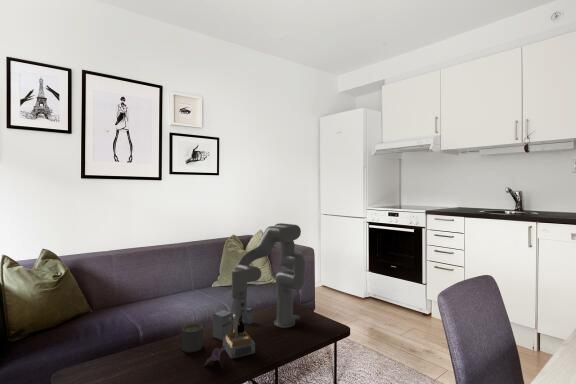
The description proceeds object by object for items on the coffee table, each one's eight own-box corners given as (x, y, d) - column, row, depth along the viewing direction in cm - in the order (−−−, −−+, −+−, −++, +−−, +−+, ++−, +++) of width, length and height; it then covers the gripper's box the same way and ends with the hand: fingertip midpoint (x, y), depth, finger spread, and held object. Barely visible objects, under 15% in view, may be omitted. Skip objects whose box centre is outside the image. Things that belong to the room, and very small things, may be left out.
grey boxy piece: (244, 341, 173) (245, 328, 173) (255, 353, 160) (255, 340, 160) (222, 345, 167) (222, 333, 167) (231, 359, 154) (231, 345, 154)
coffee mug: (203, 350, 163) (204, 330, 162) (182, 353, 159) (183, 333, 159) (199, 338, 175) (200, 319, 175) (180, 341, 171) (180, 322, 171)
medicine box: (238, 322, 197) (238, 307, 197) (242, 319, 201) (242, 305, 201) (249, 325, 193) (249, 310, 193) (253, 322, 197) (253, 308, 197)
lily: (229, 360, 155) (221, 340, 157) (236, 361, 146) (227, 340, 147) (206, 375, 149) (198, 354, 151) (212, 377, 139) (203, 355, 141)
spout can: (241, 331, 167) (242, 311, 167) (245, 335, 162) (245, 315, 162) (227, 334, 164) (227, 314, 164) (230, 338, 159) (231, 318, 159)
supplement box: (221, 340, 173) (221, 316, 173) (212, 336, 177) (212, 313, 177) (232, 335, 179) (232, 312, 179) (222, 332, 183) (223, 309, 183)
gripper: (252, 297, 158) (251, 335, 158) (240, 288, 173) (240, 322, 173) (237, 300, 154) (237, 338, 154) (226, 289, 169) (226, 325, 169)
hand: (238, 329), depth 163 cm, fingers closed on spout can, 5 cm apart
